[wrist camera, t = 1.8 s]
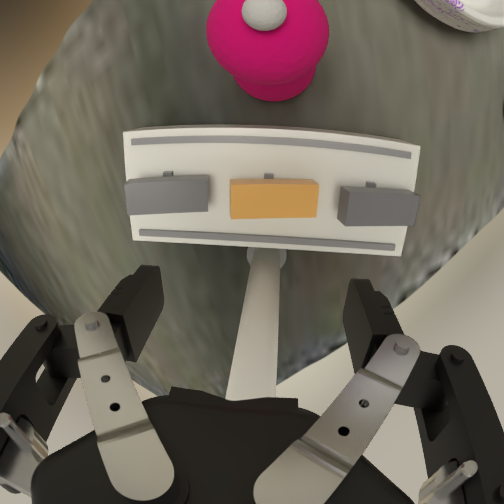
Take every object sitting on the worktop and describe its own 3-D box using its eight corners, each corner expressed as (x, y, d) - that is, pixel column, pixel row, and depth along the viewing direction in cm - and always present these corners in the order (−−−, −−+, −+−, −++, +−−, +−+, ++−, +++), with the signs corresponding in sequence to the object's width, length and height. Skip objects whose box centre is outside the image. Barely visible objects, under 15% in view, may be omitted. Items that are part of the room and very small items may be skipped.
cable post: (287, 235, 34) (290, 406, 15) (285, 270, 36) (282, 444, 17) (247, 233, 35) (205, 399, 15) (247, 268, 37) (211, 438, 17)
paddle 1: (207, 174, 27) (207, 179, 25) (208, 205, 28) (208, 211, 26) (129, 178, 26) (124, 183, 24) (132, 208, 27) (127, 215, 25)
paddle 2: (408, 189, 25) (420, 195, 24) (403, 218, 27) (414, 225, 25) (340, 186, 24) (349, 192, 23) (336, 218, 26) (345, 226, 24)
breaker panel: (401, 139, 28) (423, 147, 23) (386, 236, 33) (402, 259, 28) (144, 127, 30) (120, 132, 25) (150, 222, 35) (130, 242, 30)
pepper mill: (295, 113, 28) (321, 121, 11) (227, 88, 28) (143, 64, 10) (321, 50, 25) (381, -27, 7) (252, 26, 25) (208, -76, 7)
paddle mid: (312, 179, 26) (319, 184, 24) (309, 210, 27) (316, 217, 26) (229, 179, 25) (231, 184, 23) (229, 211, 26) (231, 219, 25)
